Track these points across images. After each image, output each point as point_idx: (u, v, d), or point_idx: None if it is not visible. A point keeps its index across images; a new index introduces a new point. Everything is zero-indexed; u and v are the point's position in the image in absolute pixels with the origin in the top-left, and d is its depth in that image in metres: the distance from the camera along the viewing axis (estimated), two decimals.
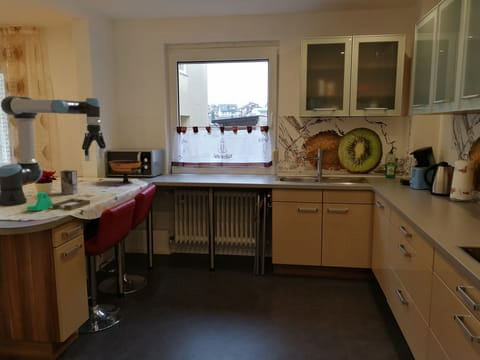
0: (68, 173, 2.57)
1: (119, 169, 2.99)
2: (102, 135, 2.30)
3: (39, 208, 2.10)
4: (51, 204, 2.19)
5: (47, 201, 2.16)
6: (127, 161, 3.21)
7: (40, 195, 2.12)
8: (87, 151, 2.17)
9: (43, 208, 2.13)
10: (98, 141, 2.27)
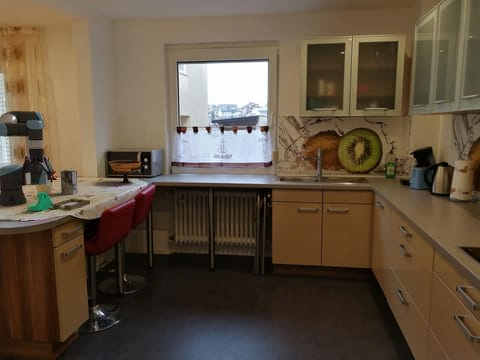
0: (68, 173, 2.57)
1: (119, 169, 2.99)
2: (45, 160, 2.08)
3: (39, 209, 2.10)
4: (52, 204, 2.19)
5: (47, 201, 2.16)
6: (127, 161, 3.21)
7: (40, 195, 2.12)
8: (25, 174, 2.14)
9: (43, 208, 2.13)
10: None
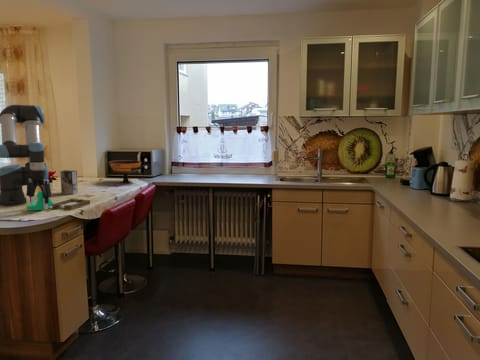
0: (68, 173, 2.57)
1: (119, 169, 2.99)
2: (46, 184, 2.11)
3: (38, 208, 2.10)
4: (51, 203, 2.19)
5: None
6: (127, 161, 3.21)
7: (40, 195, 2.12)
8: (30, 198, 2.15)
9: None
10: None
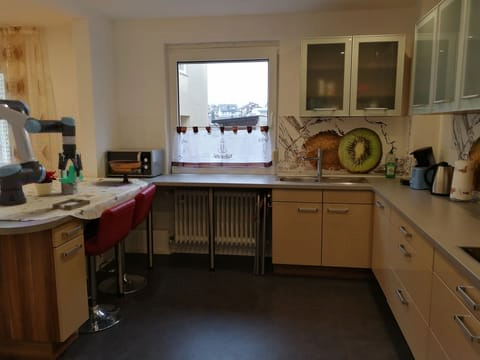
0: (68, 173, 2.57)
1: (119, 169, 2.99)
2: (77, 157, 2.18)
3: (70, 180, 2.18)
4: (81, 177, 2.27)
5: None
6: (127, 161, 3.21)
7: (72, 168, 2.19)
8: None
9: (74, 180, 2.21)
10: None
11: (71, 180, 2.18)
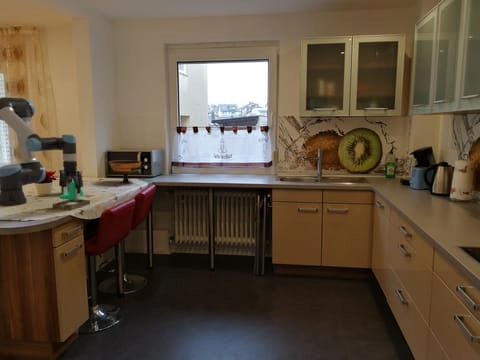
0: None
1: (119, 169, 2.99)
2: (78, 174, 2.20)
3: (71, 197, 2.19)
4: (82, 194, 2.28)
5: None
6: (127, 161, 3.21)
7: (72, 185, 2.21)
8: None
9: (75, 197, 2.22)
10: None
11: (72, 197, 2.20)
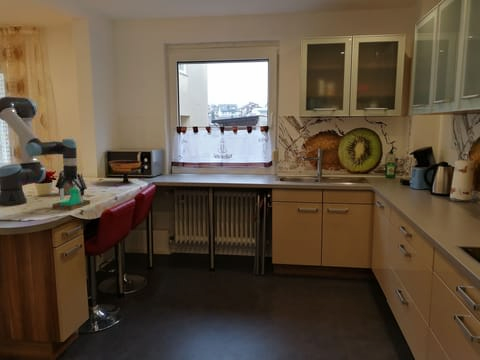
0: None
1: (119, 169, 2.99)
2: (79, 177, 2.20)
3: (71, 204, 2.20)
4: None
5: None
6: (127, 161, 3.21)
7: (73, 191, 2.21)
8: (59, 190, 2.25)
9: (75, 203, 2.23)
10: None
11: (72, 203, 2.20)
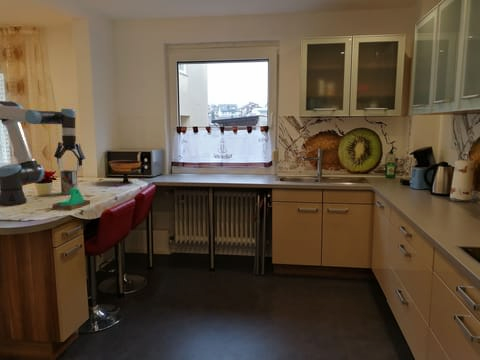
0: (68, 173, 2.57)
1: (119, 169, 2.99)
2: (77, 146, 2.21)
3: (72, 204, 2.20)
4: (82, 200, 2.29)
5: (79, 197, 2.26)
6: (127, 161, 3.21)
7: (73, 191, 2.21)
8: (58, 159, 2.27)
9: (75, 203, 2.23)
10: None
11: (72, 203, 2.20)
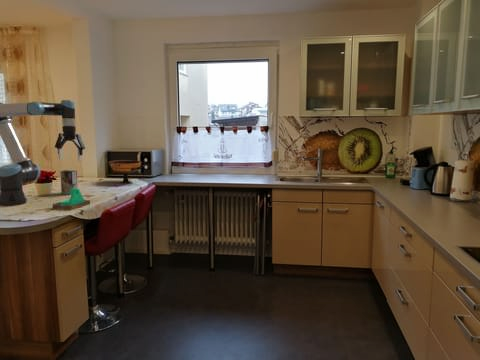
0: (68, 173, 2.57)
1: (119, 169, 2.99)
2: (77, 137, 2.28)
3: (72, 204, 2.20)
4: (82, 200, 2.29)
5: (79, 197, 2.26)
6: (127, 161, 3.21)
7: (73, 191, 2.21)
8: (58, 150, 2.33)
9: (76, 203, 2.23)
10: None
11: (73, 203, 2.20)
